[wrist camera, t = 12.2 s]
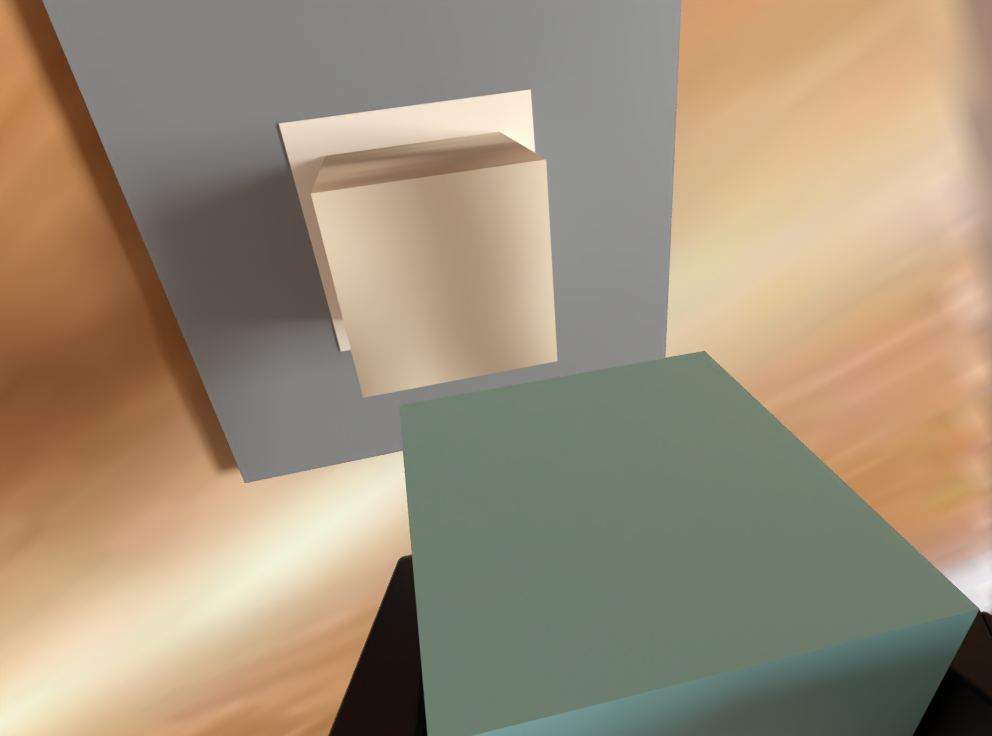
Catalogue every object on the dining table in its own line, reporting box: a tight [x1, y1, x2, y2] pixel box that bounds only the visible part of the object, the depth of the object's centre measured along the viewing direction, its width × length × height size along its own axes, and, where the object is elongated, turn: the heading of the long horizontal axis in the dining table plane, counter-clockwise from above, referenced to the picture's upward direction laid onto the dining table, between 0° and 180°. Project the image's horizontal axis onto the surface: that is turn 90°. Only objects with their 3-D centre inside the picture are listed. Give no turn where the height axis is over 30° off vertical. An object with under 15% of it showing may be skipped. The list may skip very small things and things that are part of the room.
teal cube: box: [399, 351, 979, 736], centre depth 8 cm, size 5×5×5 cm
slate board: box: [42, 0, 681, 483], centre depth 18 cm, size 16×16×1 cm
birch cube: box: [311, 132, 557, 398], centre depth 16 cm, size 5×5×5 cm
